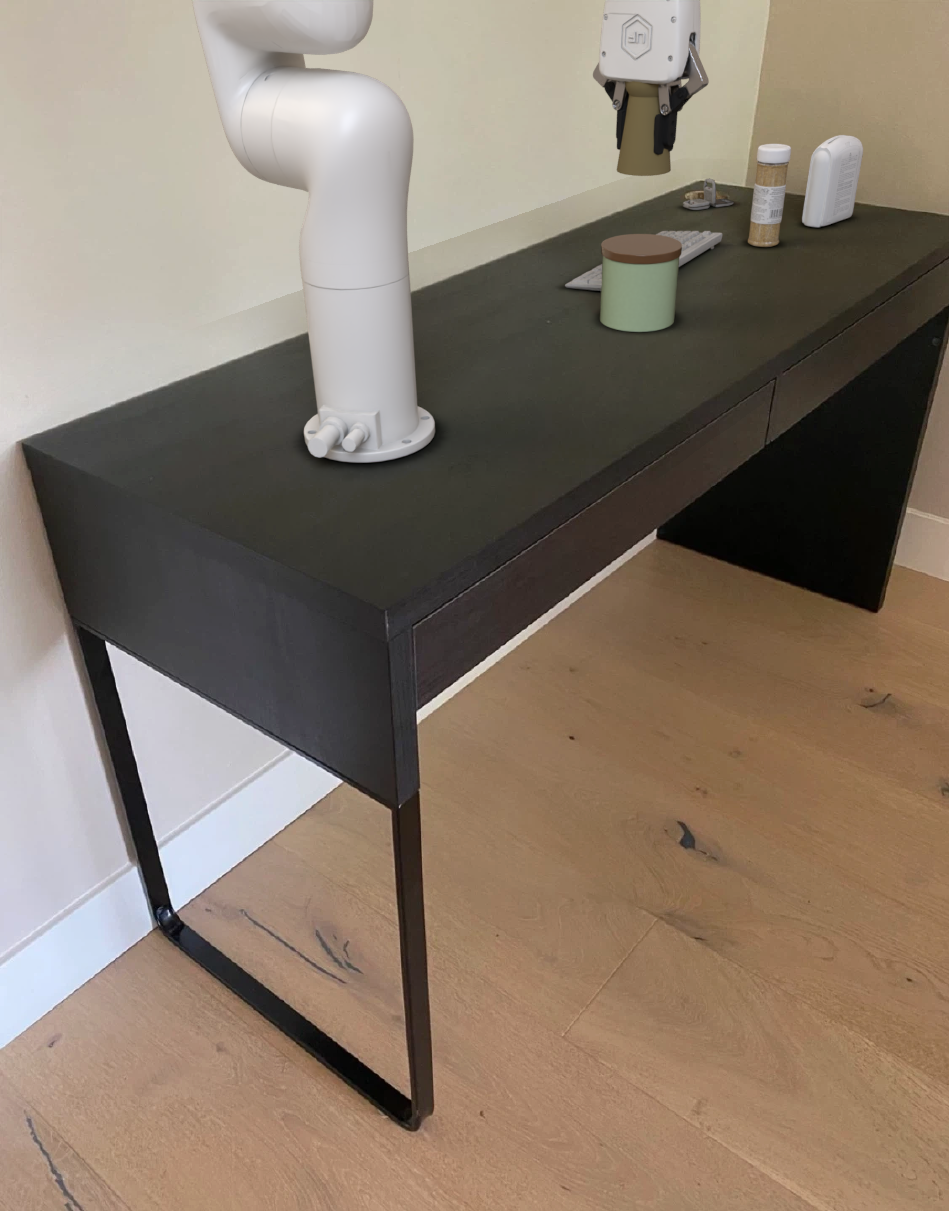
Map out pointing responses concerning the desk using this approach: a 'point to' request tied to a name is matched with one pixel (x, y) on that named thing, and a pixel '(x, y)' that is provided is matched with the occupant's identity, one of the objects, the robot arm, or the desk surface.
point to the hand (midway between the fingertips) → (644, 148)
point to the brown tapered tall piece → (641, 133)
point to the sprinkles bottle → (769, 194)
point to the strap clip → (707, 199)
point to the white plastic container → (832, 181)
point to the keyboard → (690, 240)
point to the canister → (639, 282)
